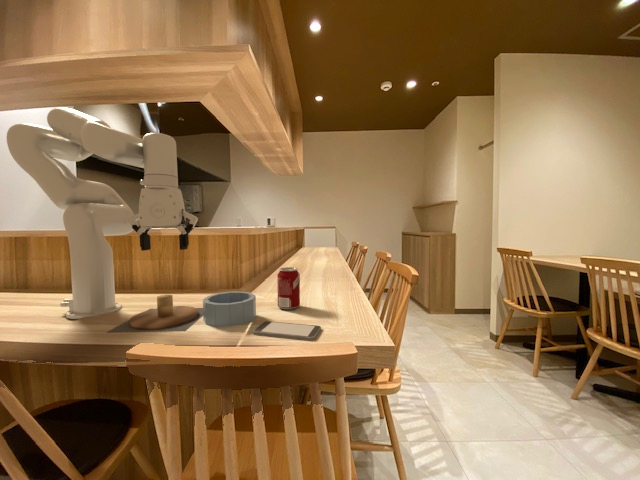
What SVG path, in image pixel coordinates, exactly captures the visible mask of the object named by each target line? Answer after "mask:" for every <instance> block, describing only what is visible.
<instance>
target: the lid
mask: <svg viewBox="0 0 640 480" xmlns="http://www.w3.org/2000/svg"><path fill="white" fill-rule="evenodd" d="M173 296H174V295H173V294H160V295H158V296H157V297H156V303H157V304H156V306H157V308H156V307H155V308H151V309H152V310H149V309H147V310H148V311H147V310H144V311H142V312H139V313H136V314H135V315H133V316H131V317H130V318H129V319H128V320H129V326H130V327H131V328H134V329H139V330H156V329H164V328H170V327H175V326H179V325H182V324H185V323H188V322H190V321H192V320H194V319H195V318H197V317H198V309H197V308H198V307H193V306H191V305H174V302H173V301H174V300H173V299H174V298H173Z"/></svg>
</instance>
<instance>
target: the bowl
mask: <svg viewBox="0 0 640 480" xmlns="http://www.w3.org/2000/svg"><path fill="white" fill-rule="evenodd" d="M256 296H257V295H256V294H254V293H252V292H247V291H224V292H218V293H214V294H210V295H207V296H205V297H204V298H203V299H202V308H203V316H202V318H203V323H205V325H207V326H211V327H215V328H217V327H218V328H220V327H223V328H224V327H226V328H227V327H234V326H235V327H236V326H240V325H244V324H246V323H247V324H248V323H249V324H251V323H253V322H255V320H256V318H257V300H256V299H257V297H256Z"/></svg>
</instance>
